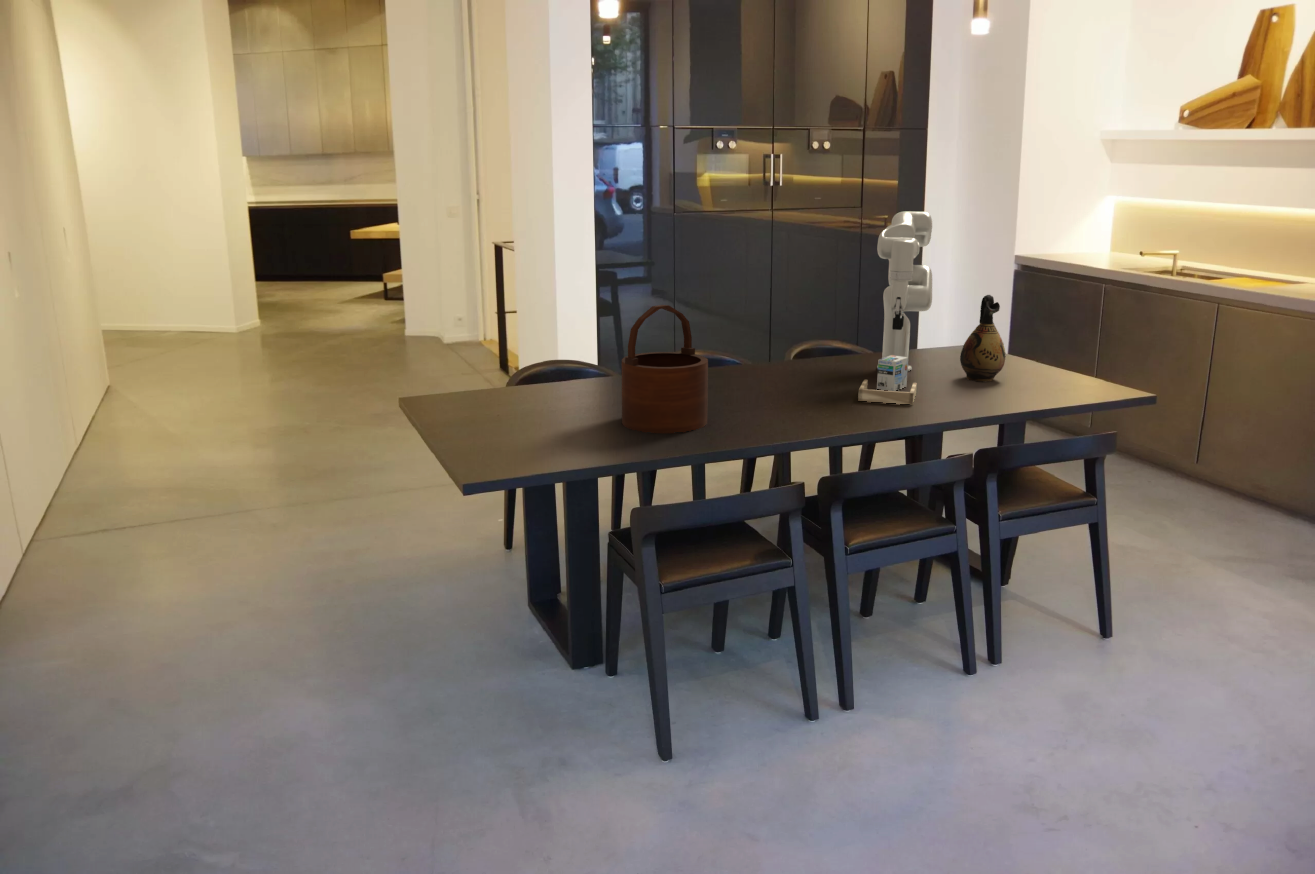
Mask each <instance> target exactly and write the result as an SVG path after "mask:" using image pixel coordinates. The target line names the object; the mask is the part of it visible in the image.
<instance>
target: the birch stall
mask: <svg viewBox="0 0 1315 874" xmlns="http://www.w3.org/2000/svg"><path fill="white" fill-rule="evenodd" d="M868 385H869V380H868V379H864V380H863V381H862V383H861V385H860V387H858V388H859V389H858V392H857V393H858V395H857V396H858V397H857V399H858V400H857V401H867V402H866V403H871V402H883V403H882V404H886V403H896V404H895V405H900V404H911V405H910V406H914V403H913V402H914V401H915V400H916V397H915V396H917V388H918V387H917V386H918V383H917V382H912V386H911V388H910V391H900V390H898V391H884V390H877V389H868ZM914 399H915V400H914Z"/></svg>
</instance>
